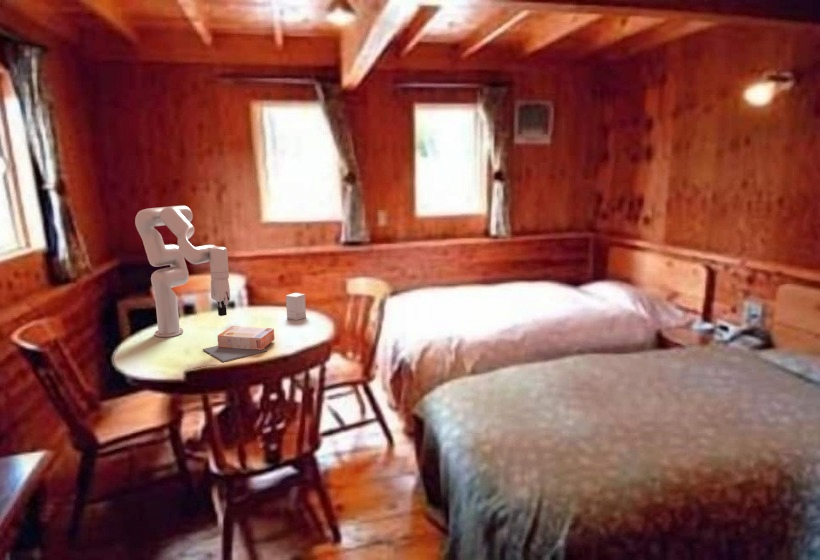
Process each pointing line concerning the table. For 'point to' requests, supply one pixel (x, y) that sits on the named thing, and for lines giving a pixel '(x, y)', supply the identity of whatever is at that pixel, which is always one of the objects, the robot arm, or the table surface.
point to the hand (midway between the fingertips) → (222, 315)
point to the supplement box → (296, 306)
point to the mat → (231, 353)
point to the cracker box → (246, 338)
